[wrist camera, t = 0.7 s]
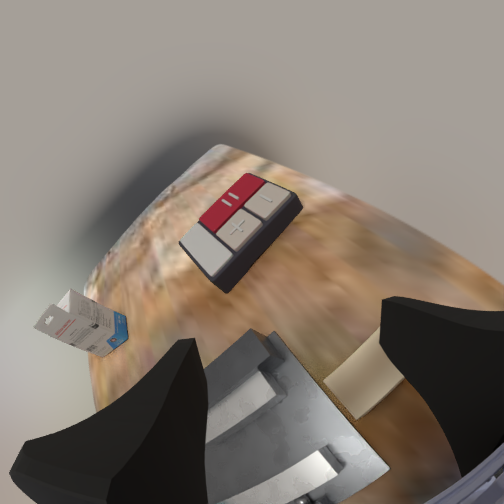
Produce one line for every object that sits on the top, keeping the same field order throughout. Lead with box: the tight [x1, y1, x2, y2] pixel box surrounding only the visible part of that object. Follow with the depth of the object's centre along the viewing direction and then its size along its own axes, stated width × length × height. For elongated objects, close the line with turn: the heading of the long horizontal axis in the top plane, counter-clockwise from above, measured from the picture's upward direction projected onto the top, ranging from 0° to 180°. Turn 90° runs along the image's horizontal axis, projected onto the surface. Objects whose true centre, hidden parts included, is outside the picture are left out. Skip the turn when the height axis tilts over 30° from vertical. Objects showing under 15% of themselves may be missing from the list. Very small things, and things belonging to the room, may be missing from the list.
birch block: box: [323, 327, 405, 420], centre depth 18 cm, size 4×7×6 cm, turn 125°
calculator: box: [179, 173, 303, 293], centre depth 37 cm, size 11×4×15 cm
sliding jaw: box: [216, 446, 344, 504], centre depth 17 cm, size 3×18×4 cm, turn 125°
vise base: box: [204, 329, 391, 504], centre depth 20 cm, size 19×22×4 cm
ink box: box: [33, 289, 128, 357], centre depth 36 cm, size 8×5×15 cm, turn 115°
